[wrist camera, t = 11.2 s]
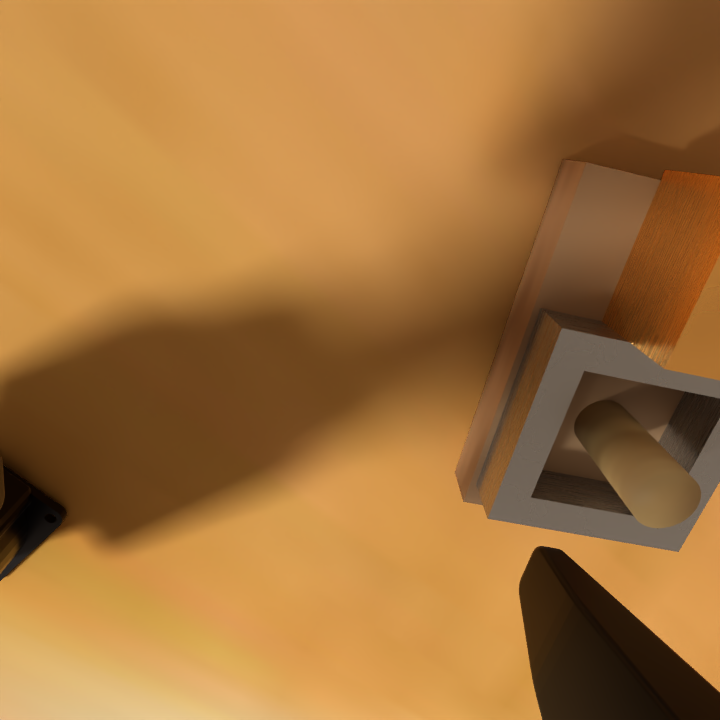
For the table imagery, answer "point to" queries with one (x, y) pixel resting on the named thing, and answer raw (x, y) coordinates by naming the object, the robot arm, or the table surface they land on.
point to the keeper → (595, 391)
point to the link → (622, 375)
